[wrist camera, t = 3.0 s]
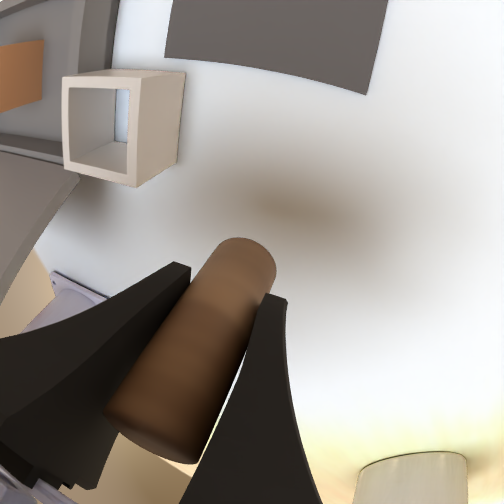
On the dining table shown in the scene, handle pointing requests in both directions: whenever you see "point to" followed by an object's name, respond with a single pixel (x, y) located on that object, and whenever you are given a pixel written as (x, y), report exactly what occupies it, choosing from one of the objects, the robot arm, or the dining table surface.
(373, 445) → the dining table surface
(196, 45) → the pad
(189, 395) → the rod
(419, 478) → the utensil holder
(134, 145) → the case
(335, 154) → the dining table surface
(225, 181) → the dining table surface
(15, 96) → the block
